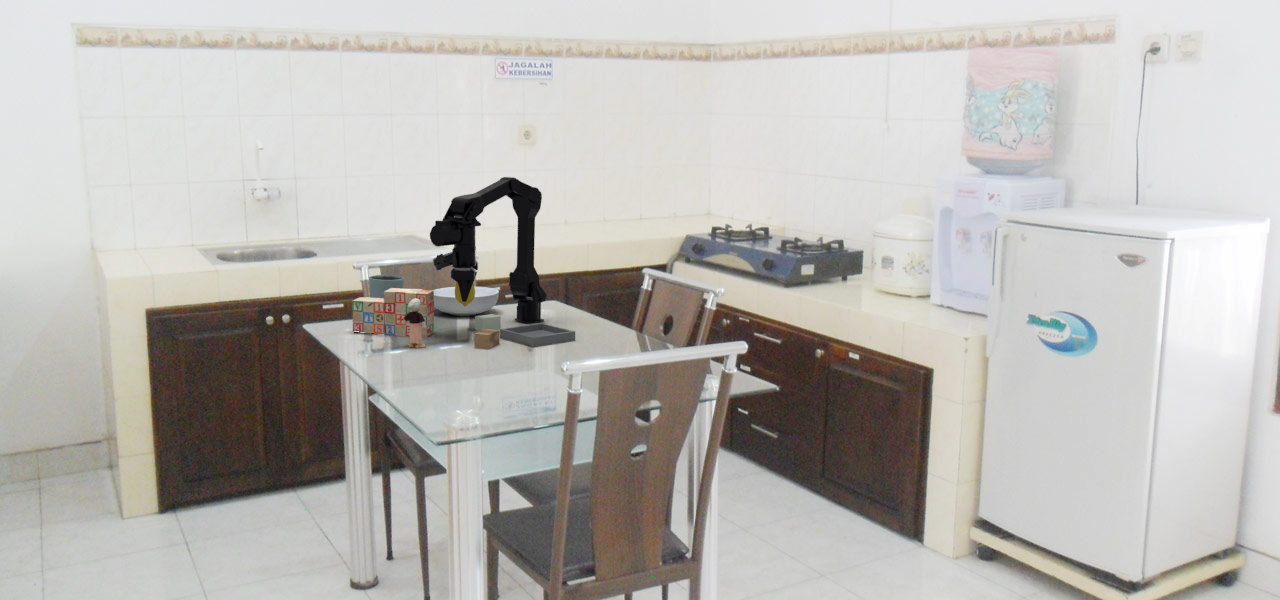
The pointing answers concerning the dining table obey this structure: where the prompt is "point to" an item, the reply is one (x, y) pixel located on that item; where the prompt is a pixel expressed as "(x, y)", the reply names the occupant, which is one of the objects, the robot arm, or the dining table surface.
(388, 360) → the dining table surface
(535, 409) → the dining table surface
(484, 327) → the sage block
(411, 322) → the grandmother figurine
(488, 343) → the walnut block
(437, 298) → the serving bowl
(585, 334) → the dining table surface
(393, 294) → the stack of blocks
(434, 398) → the dining table surface
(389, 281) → the blue-grey pot
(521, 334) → the charcoal tray
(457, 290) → the lemon
